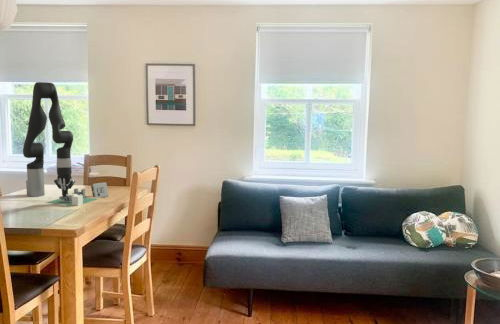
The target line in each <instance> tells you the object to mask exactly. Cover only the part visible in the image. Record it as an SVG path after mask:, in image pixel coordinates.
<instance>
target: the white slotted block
mask: <svg viewBox="0 0 500 324" xmlns="http://www.w3.org/2000/svg"><path fill="white" fill-rule="evenodd" d="M83 200H84V198H83ZM60 202H66V203H72V197H69V198H66V199H61V200H60Z"/></svg>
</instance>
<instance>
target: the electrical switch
mask: <svg viewBox="0 0 500 324" xmlns="http://www.w3.org/2000/svg"><path fill="white" fill-rule="evenodd" d="M90 187H91V193H92V197H93V198H96V199H100V198H101V199H102V198H107V197H109V190H108V185H107V181H106V182H97V183H91V186H90Z"/></svg>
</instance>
